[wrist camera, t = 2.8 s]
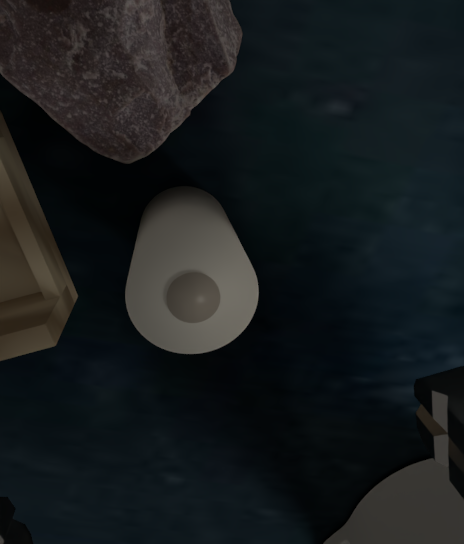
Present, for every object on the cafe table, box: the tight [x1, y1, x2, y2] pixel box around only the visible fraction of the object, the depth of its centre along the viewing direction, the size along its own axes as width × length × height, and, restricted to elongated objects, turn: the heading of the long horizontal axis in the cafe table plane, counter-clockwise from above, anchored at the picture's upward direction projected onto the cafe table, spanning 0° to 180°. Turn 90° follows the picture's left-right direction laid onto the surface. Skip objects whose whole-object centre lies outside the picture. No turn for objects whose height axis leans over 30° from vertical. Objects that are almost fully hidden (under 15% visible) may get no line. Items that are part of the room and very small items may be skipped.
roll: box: [125, 186, 259, 354], centre depth 20 cm, size 5×5×9 cm
